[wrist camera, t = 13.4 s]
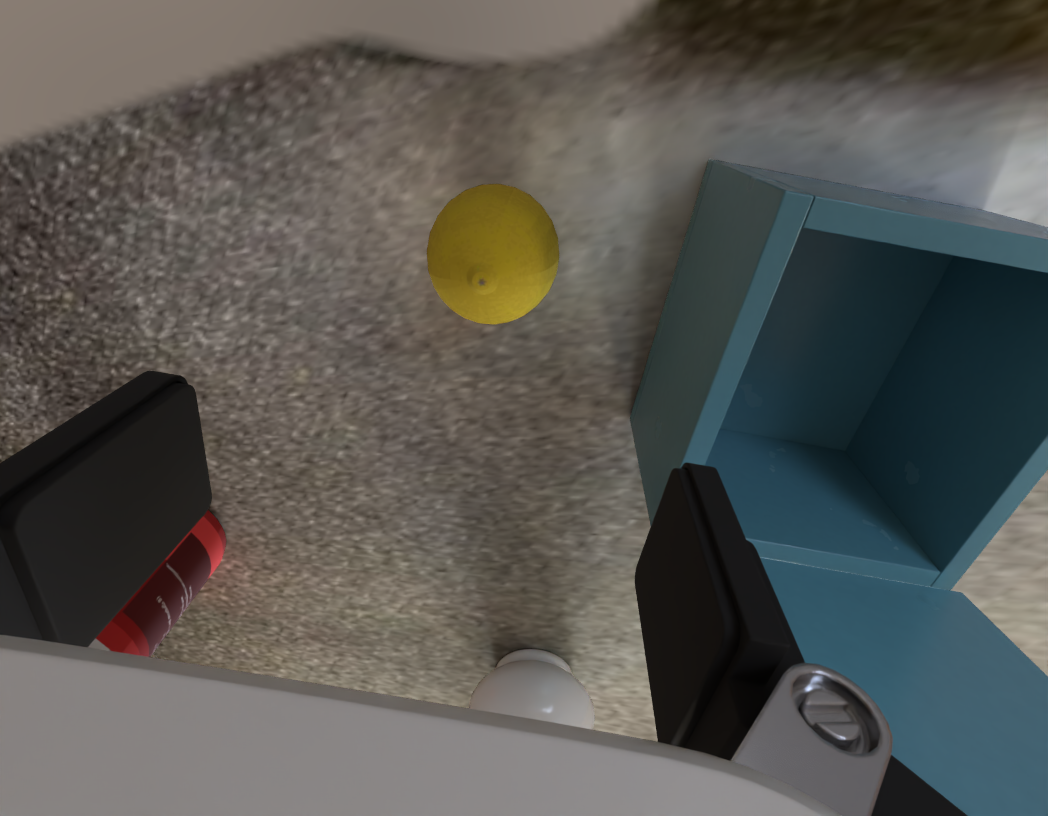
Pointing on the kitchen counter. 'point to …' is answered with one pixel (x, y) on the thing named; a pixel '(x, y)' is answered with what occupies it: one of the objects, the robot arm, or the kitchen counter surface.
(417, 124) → the kitchen counter surface
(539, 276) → the lemon
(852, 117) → the kitchen counter surface
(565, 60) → the kitchen counter surface
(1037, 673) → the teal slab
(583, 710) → the flower vase
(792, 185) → the teal box
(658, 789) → the robot arm
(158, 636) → the canned food
